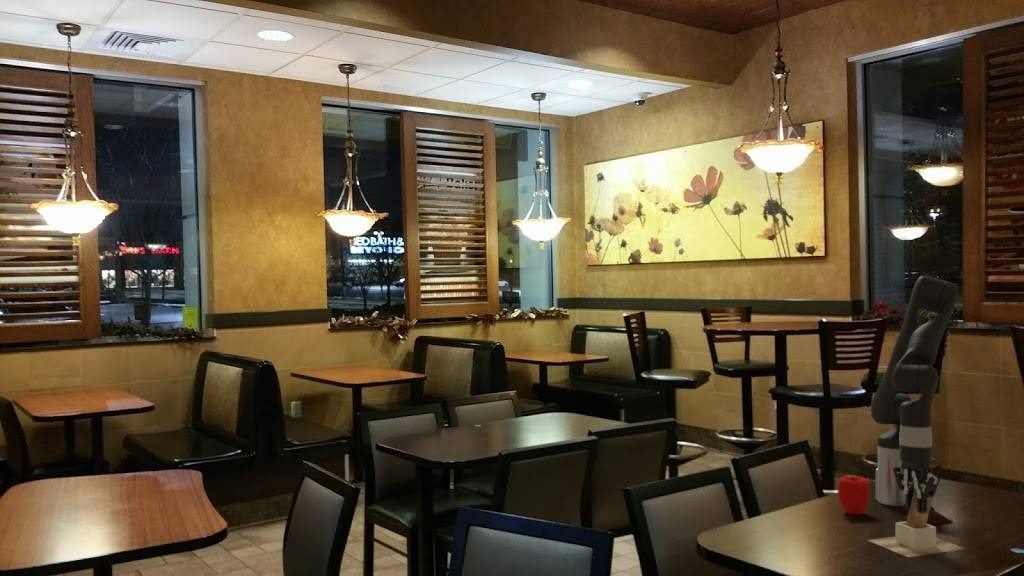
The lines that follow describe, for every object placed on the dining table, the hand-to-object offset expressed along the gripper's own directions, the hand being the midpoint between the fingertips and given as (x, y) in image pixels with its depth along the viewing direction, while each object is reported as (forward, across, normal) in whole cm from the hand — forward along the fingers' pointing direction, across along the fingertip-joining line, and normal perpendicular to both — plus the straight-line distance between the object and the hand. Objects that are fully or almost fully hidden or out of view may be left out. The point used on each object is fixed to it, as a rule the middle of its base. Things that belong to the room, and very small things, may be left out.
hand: (916, 510), depth 215 cm
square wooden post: (+6, 0, +1) cm, 6 cm away
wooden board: (+10, 0, 0) cm, 10 cm away
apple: (+10, +31, -7) cm, 33 cm away
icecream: (+10, +12, -15) cm, 21 cm away
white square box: (+9, 0, 0) cm, 9 cm away
